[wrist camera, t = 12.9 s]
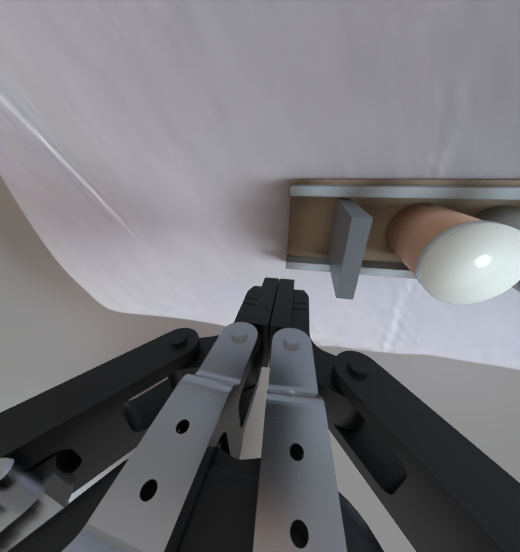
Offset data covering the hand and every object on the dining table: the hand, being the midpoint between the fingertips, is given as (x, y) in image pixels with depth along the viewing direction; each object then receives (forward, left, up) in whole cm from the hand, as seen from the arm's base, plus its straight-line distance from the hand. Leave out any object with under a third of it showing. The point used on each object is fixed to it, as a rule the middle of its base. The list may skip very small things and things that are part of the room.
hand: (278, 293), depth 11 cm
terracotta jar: (-12, 0, -13) cm, 17 cm away
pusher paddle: (-4, 0, -13) cm, 14 cm away
